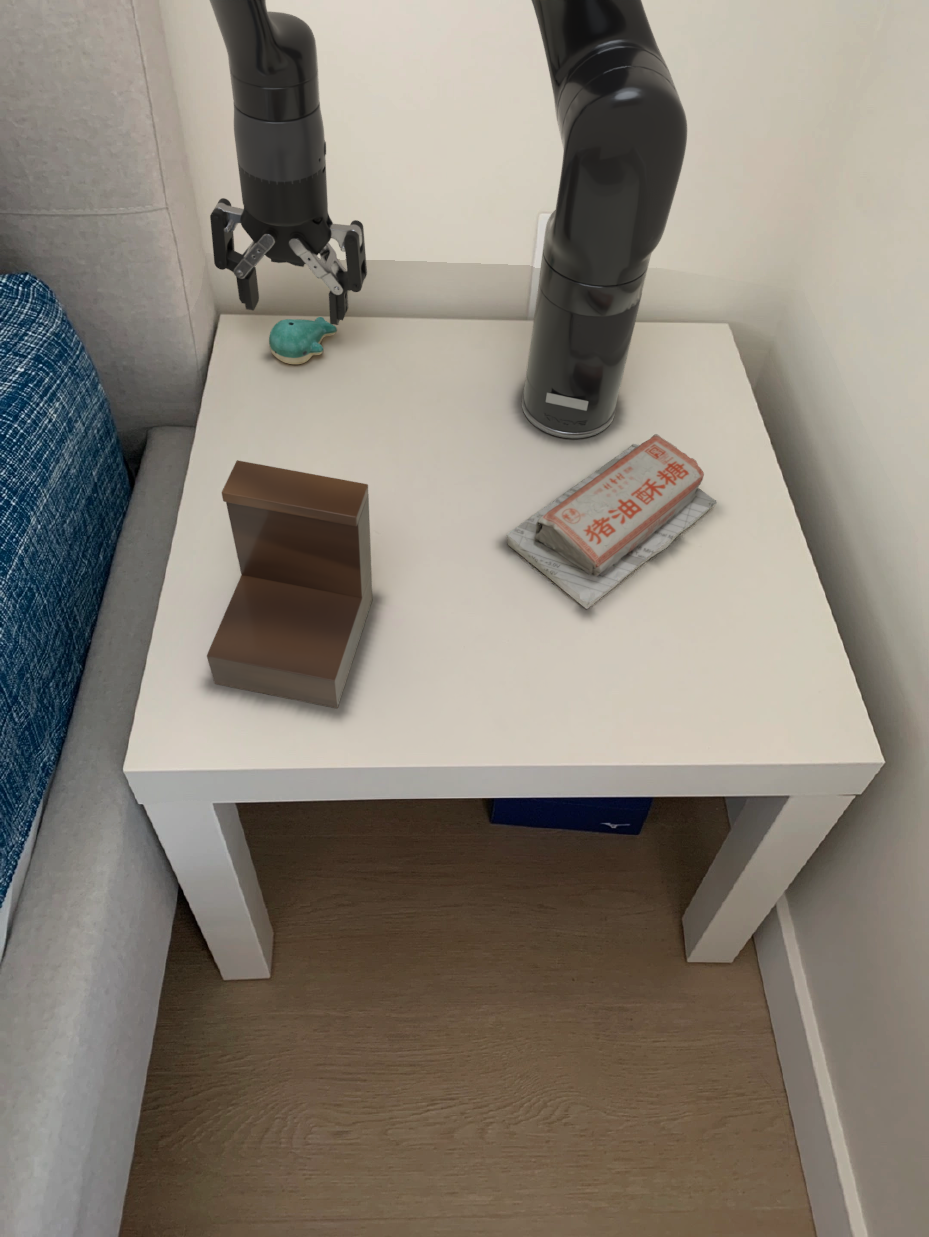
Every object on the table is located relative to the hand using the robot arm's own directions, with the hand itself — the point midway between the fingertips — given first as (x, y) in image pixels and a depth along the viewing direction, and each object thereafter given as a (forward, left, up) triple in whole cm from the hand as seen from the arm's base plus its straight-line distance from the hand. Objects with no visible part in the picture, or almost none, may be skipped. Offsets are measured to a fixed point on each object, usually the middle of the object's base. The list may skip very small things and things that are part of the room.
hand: (294, 312), depth 97 cm
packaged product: (+16, +34, -5) cm, 38 cm away
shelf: (+35, +10, -5) cm, 37 cm away
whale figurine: (-1, 0, -5) cm, 5 cm away
